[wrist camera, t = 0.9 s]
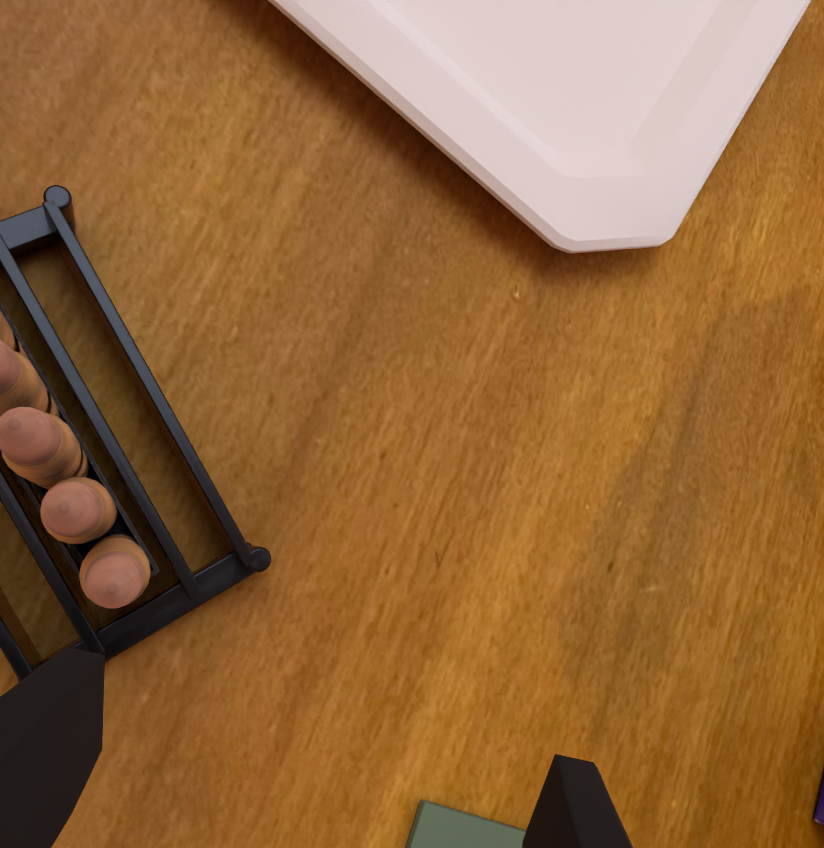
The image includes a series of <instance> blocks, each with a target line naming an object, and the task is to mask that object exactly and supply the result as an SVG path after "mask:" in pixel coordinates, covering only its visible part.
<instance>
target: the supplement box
mask: <svg viewBox="0 0 824 848" xmlns="http://www.w3.org/2000/svg"><path fill="white" fill-rule="evenodd" d="M814 821H816V822H817V823H819V824H821V825H823V826H824V778H823V782H822V786H821V791H820V795H819V800H818V803H817V808H816V813H815V817H814Z"/></svg>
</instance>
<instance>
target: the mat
mask: <svg viewBox="0 0 824 848" xmlns="http://www.w3.org/2000/svg"><path fill="white" fill-rule="evenodd" d="M526 831H527V830H523V829H520V828H517V827H513V826H510V825H506V824H503V823H500V822H496V821H493V820H490V819H486V818H483V817H480V816H476V815H473V814H470V813H466V812H463V811H459V810H456V809H453V808H449V807H446V806H443V805H439V804H436V803H433V802H429V801H426V800H421V801H420V804H419V807H418V810H417V813H416V816H415V820H414V823H413V826H412V829H411V832H410V835H409V838H408V841H407V844H406V848H522V841H523V839H524V836H525V833H526Z"/></svg>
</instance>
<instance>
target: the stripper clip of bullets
mask: <svg viewBox="0 0 824 848" xmlns="http://www.w3.org/2000/svg"><path fill="white" fill-rule="evenodd" d="M0 449H1V452H2V457H3V459H4V460H5V462H6V464H7V465H8V467H9V468H10V469H11V470H13V471H14V472H15V474H16V476H17V477H18V479H19V481H20V482H21V484H22V486H23V487H24V489H25V490H26V492H27V494H28V495H29V497H30V499H31V500H32V502H33V504H34V505H35V507H36V509H37V510H38V512H39V514H40V515H41V520H42V523H43V525H44V527H45V528H46V530H47V532H48V533H49V534H51V535H52V536H53V537H54V539H55V540H56V542H57V544H58V545H59V547H60V548H61V550H62V552H63V553H64V555H65V557H66V558H67V560H68V562H69V563H70V565H71V567H72V568H73V570H74V572H75V573H76V575H77V577H78V578H79V580H80V584H81V588H82V590H83V591H84V593H85V595H86V596H87V598H89V599H90V600H91V601H92V602H93V603H94V605H95V606H96V607H97V608H100V607H105V608H108V609H110V608H120V607H122V606H125V605H127V604H130V603H132V602H134V601H135V600H136V599H137V598H138V597H139V596H141V595H142V593H143V592H144V590H145V588H146V587H147V585H148V583H149V578H151V577H153V576H154V575H156V574H158V572H159V568H158V566H157V565H156V563H155V561H154V560H153V558H152V556H151V555H150V553H149V551H148V550H147V548H146V546H145V544H144V543H143V541H142V539H141V538H140V536H139V534H138V533H137V531H136V529H135V528H134V526H133V524H132V523H131V521H130V519H129V518H128V516H127V514H126V513H125V511H124V509H123V507H122V506H121V504H120V502H119V501H118V499H117V497H116V496H115V494H114V492H113V491H112V489H111V487H110V486H109V484H108V482H107V481H106V479H105V477H104V475H103V474H102V472H101V470H100V469H99V467H98V465H97V464H96V462H95V460H94V459H93V457H92V455H91V454H90V452H89V450H88V449H87V447H86V445H85V444H84V442H83V440H82V438H81V437H80V435H79V433H78V432H77V430H76V428H75V427H74V425H73V423H72V422H71V420H70V418H69V417H68V415H67V413H66V412H65V410H64V408H63V407H62V405H61V403H60V401H59V400H58V398H57V396H56V395H55V393H54V391H53V390H52V388H51V386H50V385H49V383H48V381H47V380H46V378H45V376H44V375H43V373H42V371H41V369H40V368H39V366H38V364H37V363H36V361H35V359H34V358H33V356H32V354H31V353H30V351H29V349H28V348H27V346H26V344H25V343H24V341H23V339H22V338H21V336H20V334H19V332H18V331H17V329H16V327H15V326H14V324H13V322H12V321H11V319H10V317H9V316H8V314H7V312H6V311H5V309H4V307H3V306H2V304H1V302H0ZM28 480H29V481H31V482H32V483H33V485H34V486H35V488H36V490H37V491H38V493H39V495H40V496H41V498H42V503H41V501H40V499H39V498H38V496H37V494H36V493H35V491H34V489H33V488H32V486H31V485H30V483H29V481H28ZM65 542H66V543H69V545H70V546H71V548H72V550H73V551H74V553H75V555H76V556H77V558H78V560H79V561H78V560H77V559H76V558H75V557H74V555H73V554H72V552H71V551H70V549H69V547H68V546H67V544H66V543H65Z"/></svg>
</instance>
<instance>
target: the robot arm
mask: <svg viewBox="0 0 824 848" xmlns="http://www.w3.org/2000/svg"><path fill="white" fill-rule="evenodd" d="M104 665H105V655H101V654H96V653H91V652H87V651H82V650H78V649H73V648H69V647H67V648H65V649H63V650H61V651H60V652H58V653H57V654H56V655H54V656H53V657H52V658H51V659H49V660H48V661H47V662H45V663H44V664H43V665H41V666H40V667H39V668H38V669H36V670H35V671H34V672H32V673H31V674H30V675H28V676H27V677H26V678H25V679H23V680H22V681H21V682H19V683H18V684H17V685H15V686H14V687H13V688H11V689H10V690H9V691H8V692H6V693H5V694H4V695H2V696H1V697H0V848H51V847H52V845H53V844H54V842H55V840H56V839H57V837H58V835H59V834H60V832H61V830H62V829H63V827H64V825H65V824H66V822H67V820H68V819H69V817H70V815H71V814H72V812H73V810H74V808H75V805H76V803H77V801H78V799H79V797H80V795H81V793H82V791H83V789H84V787H85V785H86V783H87V781H88V778H89V776H90V774H91V772H92V770H93V768H94V765H95V763H96V761H97V759H98V757H99V755H100V752H101V750H102V734H103V700H104ZM522 848H633V847H632V844H631V842H630V840H629V838H628V836H627V834H626V832H625V829H624V827H623V825H622V823H621V821H620V818H619V816H618V814H617V812H616V810H615V807H614V805H613V803H612V800H611V798H610V796H609V794H608V791H607V789H606V787H605V784H604V782H603V780H602V777H601V775H600V773H599V770H598V768H597V767H596V765H595V764H594V762H589V761H585V760H580V759H575V758H571V757H566V756H562V755H557V754H555V756H554V759H553V761H552V764H551V767H550V769H549V772H548V775H547V777H546V780H545V783H544V785H543V788H542V791H541V793H540V796H539V799H538V801H537V804H536V807H535V809H534V812H533V815H532V817H531V820H530V823H529V825H528V828H527V831H526V833H525V836H524V839H523V841H522Z"/></svg>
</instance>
